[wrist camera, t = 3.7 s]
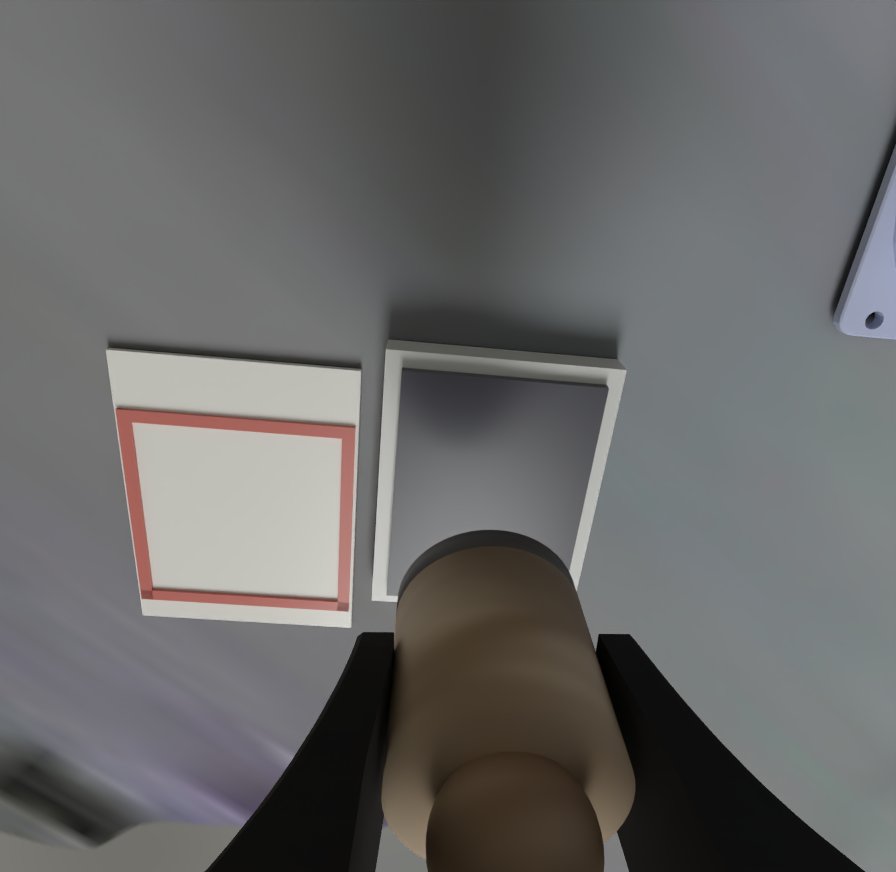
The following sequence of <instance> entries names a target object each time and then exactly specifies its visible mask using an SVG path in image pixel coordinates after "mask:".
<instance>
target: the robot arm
mask: <svg viewBox="0 0 896 872" xmlns="http://www.w3.org/2000/svg"><path fill="white" fill-rule="evenodd" d="M873 312H875V318H874V320H873V321H872V322H871V323H870V324H868V325H865V320H866V318H867V317H868V315H870V314H871V313H873ZM833 322H834V325H835V327H836V328H837V329H838V330H839V331H840V332H843V333H845V334H848V335H853V336H863V337H874V338H885V339H896V145H895V148H894V150H893V153H892V156H891V159H890V161H889V164H888V167H887V170H886V173H885V175H884V178H883V181H882V184H881V186H880V189H879V192H878V195H877V197H876V200H875V203H874V206H873V209H872V211H871V214H870V217H869V220H868V222H867V225H866V228H865V231H864V234H863V236H862V239H861V242H860V245H859V247H858V250H857V253H856V256H855V259H854V261H853V264H852V267H851V270H850V272H849V275H848V278H847V281H846V284H845V286H844V289H843V292H842V295H841V297H840V300H839V303H838V306H837V308H836V311H835V314H834V320H833ZM596 655H597V658H598V661H599V664H600V667H601V671H602V674H603V677H604V680H605V683H606V686H607V689H608V693H609V696H610V699H611V702H612V705H613V708H614V712H615V715H616V718H617V721H618V724H619V727H620V730H621V734H622V737H623V740H624V743H625V746H626V749H627V752H628V756H629V759H630V762H631V765H632V768H633V772H634V777H635V796H634V802H633V804H632V807H631V810H630V812H629V814H628V816H627V818H626V819H625V821H624V823H623V824H622V825H621V827H620V828H619V829H618V830H617V833H618V836H619V839H620V843H621V846H622V849H623V852H624V856H625V859H626V862H627V866H628V869H629V872H865V871H864V870H862V869H861V868H860V867H858V866H857V865H856V864H855V863H854V862H852V861H851V860H850V859H849V858H847V857H846V856H845V855H844V854H842V853H841V852H840V851H839V850H837V849H836V848H835V847H834V846H832V845H831V844H830V843H829V842H827V841H826V840H825V839H824V838H822V837H821V836H820V835H819V834H818V833H816V832H815V831H814V830H813V829H812V828H811V827H809V826H808V825H807V824H806V823H805V822H803V821H802V820H801V819H800V818H799V817H798V816H797V815H795V814H794V813H793V812H792V811H791V810H790V809H789V808H788V807H787V806H786V805H784V804H783V803H782V802H781V801H780V800H779V799H778V798H777V797H776V796H775V795H773V794H772V793H771V792H770V791H769V790H768V789H767V788H766V787H765V786H764V785H763V784H762V783H761V782H760V781H759V780H758V779H757V778H756V777H755V776H754V775H753V774H751V773H750V772H749V771H748V770H747V769H746V768H745V767H744V766H743V764H742V763H741V762H740V761H739V760H738V759H737V758H736V757H735V756H734V755H733V754H732V753H731V752H730V751H729V750H728V749H727V748H726V747H725V746H724V745H723V744H722V743H721V742H720V740H719V739H718V738H717V737H716V736H715V735H714V734H713V733H712V732H711V731H710V730H709V729H708V727H707V726H706V725H705V724H704V723H703V722H702V721H701V719H700V718H699V717H698V716H697V715H696V714H695V713H694V711H693V710H692V709H691V708H690V707H689V706H688V705H687V704H686V702H685V701H684V700H683V699H682V698H681V697H680V695H679V694H678V693H677V692H676V691H675V689H674V688H673V687H672V686H671V685H670V683H669V682H668V681H667V680H666V678H665V677H664V676H663V675H662V674H661V672H660V671H659V670H658V669H657V667H656V666H655V665H654V664H653V662H652V661H651V660H650V659H649V657H648V656H647V655H646V654H645V652H644V651H643V650H642V649H641V647H640V646H639V645H638V644H637V642H636V641H635V640H634V639H633V638H632V637H631V636H630V634H599V636H598V642H597V648H596ZM393 659H394V633H392V632H363V633H362V634H360V635H359V636H358V637H357V639H356V642H355V645H354V648H353V650H352V653H351V655H350V658H349V660H348V662H347V664H346V667H345V669H344V671H343V673H342V675H341V677H340V679H339V681H338V683H337V685H336V687H335V689H334V691H333V692H332V694H331V696H330V698H329V700H328V702H327V703H326V705H325V707H324V709H323V711H322V712H321V714H320V716H319V718H318V719H317V721H316V723H315V725H314V726H313V728H312V729H311V731H310V733H309V734H308V736H307V737H306V739H305V741H304V742H303V744H302V745H301V747H300V748H299V750H298V752H297V753H296V755H295V756H294V758H293V759H292V761H291V762H290V764H289V765H288V767H287V768H286V770H285V771H284V773H283V774H282V776H281V777H280V778H279V780H278V781H277V783H276V784H275V785H274V787H273V788H272V790H271V791H270V792H269V794H268V795H267V796H266V798H265V799H264V800H263V802H262V803H261V804H260V806H259V807H258V808H257V810H256V811H255V812H254V814H253V815H252V816H251V817H250V819H249V820H248V821H247V822H246V823H245V825H244V826H243V827H242V828H241V830H240V831H239V832H238V833H237V835H236V836H235V837H234V838H233V840H232V841H231V842H230V843H229V845H228V846H227V847H226V848H225V849H224V850H223V852H222V853H221V854H220V855H219V856H218V858H217V859H216V860H215V861H214V862H213V863H212V864H211V866H210V867H209V868H208V869H207V870H206V871H205V872H375V869H376V863H377V857H378V850H379V843H380V837H381V830H382V824H383V817H384V813H383V809H382V799H381V796H382V783H383V771H384V759H385V747H386V734H387V722H388V712H389V701H390V694H391V683H392V671H393Z"/></svg>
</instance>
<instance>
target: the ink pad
mask: <svg viewBox="0 0 896 872" xmlns="http://www.w3.org/2000/svg"><path fill="white" fill-rule="evenodd" d="M626 372H627V370H626V368H625V367H624V366H623V365H622V364H621V363H620V361H619V360H618V359H608V358H596V357H585V356H573V355H562V354H550V353H539V352H527V351H516V350H505V349H493V348H482V347H470V346H459V345H447V344H436V343H424V342H413V341H402V340H390V339H388V342H387V346H386V354H385V372H384V390H383V408H382V426H381V444H380V462H379V480H378V497H377V515H376V533H375V551H374V569H373V587H372V600H373V601H389V602H397V600H398V592H399V588H400V585H401V582H402V580H403V578H404V575H405V574H406V572H407V570H408V569H409V567H410V566H411V565H412V564H413V562H414V561H415V560H416V559H417V558H418V557H419V556H420V555H421V554H422V553H424V552H425V551H426V550H427V549H429V548H430V547H432V546H433V545H435V544H437V543H439V542H441V541H442V540H444V539H447V538H449V537H452V536H455V535H457V534H461V533H465V532H470V531H477V530H503V531H510V532H515V533H519V534H522V535H525V536H528V537H530V538H533V539H535V540H537V541H539V542H541V543H542V544H544V545H545V546H547V547H548V548H550V549H551V550H552V551H553V552H554V553H555V554H557V555H558V557H559V558H560V559H561V560H562V561H563V562H564V564H565V565H566V567H567V569H568V570H569V572H570V575H571V577H572V579H573V582H574V586H575V589H576V592H577V587H578V583H579V578H580V574H581V570H582V565H583V561H584V556H585V552H586V548H587V543H588V539H589V534H590V530H591V526H592V521H593V517H594V512H595V508H596V504H597V499H598V495H599V490H600V486H601V482H602V477H603V473H604V468H605V464H606V460H607V455H608V451H609V447H610V442H611V438H612V433H613V429H614V425H615V420H616V416H617V411H618V407H619V403H620V398H621V394H622V389H623V385H624V381H625V376H626Z"/></svg>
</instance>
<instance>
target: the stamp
mask: <svg viewBox="0 0 896 872" xmlns="http://www.w3.org/2000/svg"><path fill="white" fill-rule="evenodd" d="M634 796H635V777H634V772H633V768H632V765H631V762H630V759H629V756H628V752H627V749H626V746H625V743H624V740H623V737H622V734H621V730H620V727H619V724H618V721H617V718H616V715H615V712H614V708H613V705H612V702H611V699H610V696H609V693H608V689H607V686H606V683H605V680H604V677H603V674H602V671H601V667H600V664H599V661H598V658H597V655H596V652H595V649H594V645H593V642H592V639H591V636H590V633H589V630H588V626H587V623H586V620H585V617H584V614H583V611H582V608H581V604H580V601H579V598H578V595H577V592H576V589H575V586H574V582H573V579H572V577H571V575H570V572H569V570H568V569H567V567H566V565H565V564H564V562H563V561H562V560H561V559H560V558H559V557H558V555H557V554H555V553H554V552H553V551H552V550H551V549H550V548H548V547H547V546H545V545H544V544H542V543H541V542H539V541H537V540H535V539H533V538H530V537H528V536H525V535H522V534H519V533H515V532H510V531H503V530H477V531H470V532H465V533H461V534H457V535H455V536H452V537H449V538H447V539H444V540H442V541H441V542H439V543H437V544H435V545H433V546H432V547H430V548H429V549H427V550H426V551H425V552H424V553H422V554H421V555H420V556H419V557H418V558H417V559H416V560H415V561H414V562H413V564H412V565H411V566H410V567H409V569H408V570H407V572H406V574H405V575H404V578H403V580H402V582H401V585H400V588H399V592H398V600H397V612H396V624H395V636H394V659H393V671H392V683H391V694H390V701H389V712H388V722H387V734H386V747H385V759H384V771H383V783H382V796H381V799H382V809H383V813H384V816H385V819H386V821H387V823H388V825H389V827H390V829H391V830H392V832H393V833H394V834H395V836H396V837H397V838H398V839H399V840H400V841H401V842H402V843H403V844H404V845H405V846H406V847H407V848H408V849H410V850H411V851H412V852H414V853H415V854H417V855H418V856H420V857H422V858H424V859H425V860H426V863H427V869H428V872H604V846H603V844H604V843H605V842H606V841H607V840H608V839H609V838H610V837H612V836H613V835H614V834H615V833H616V832H617V830H618V829H619V828H620V827H621V825H622V824H623V823H624V821H625V819H626V818H627V816H628V814H629V812H630V810H631V807H632V804H633V802H634Z"/></svg>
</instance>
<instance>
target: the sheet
mask: <svg viewBox="0 0 896 872" xmlns="http://www.w3.org/2000/svg"><path fill="white" fill-rule="evenodd" d="M106 355H107V362H108V369H109V377H110V384H111V391H112V398H113V405H114V412H115V420H116V427H117V434H118V441H119V448H120V455H121V462H122V470H123V477H124V484H125V491H126V498H127V505H128V513H129V520H130V527H131V534H132V541H133V548H134V556H135V563H136V570H137V577H138V584H139V591H140V599H141V606H142V613H143V615H147V616H164V617H180V618H197V619H213V620H230V621H246V622H263V623H280V624H296V625H313V626H329V627H346V628H351V625H352V601H353V576H354V551H355V526H356V500H357V475H358V450H359V425H360V400H361V374H362V369H356V368H344V367H333V366H321V365H309V364H297V363H285V362H273V361H261V360H250V359H238V358H226V357H214V356H202V355H190V354H179V353H167V352H155V351H143V350H131V349H119V348H108V349H106Z"/></svg>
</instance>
